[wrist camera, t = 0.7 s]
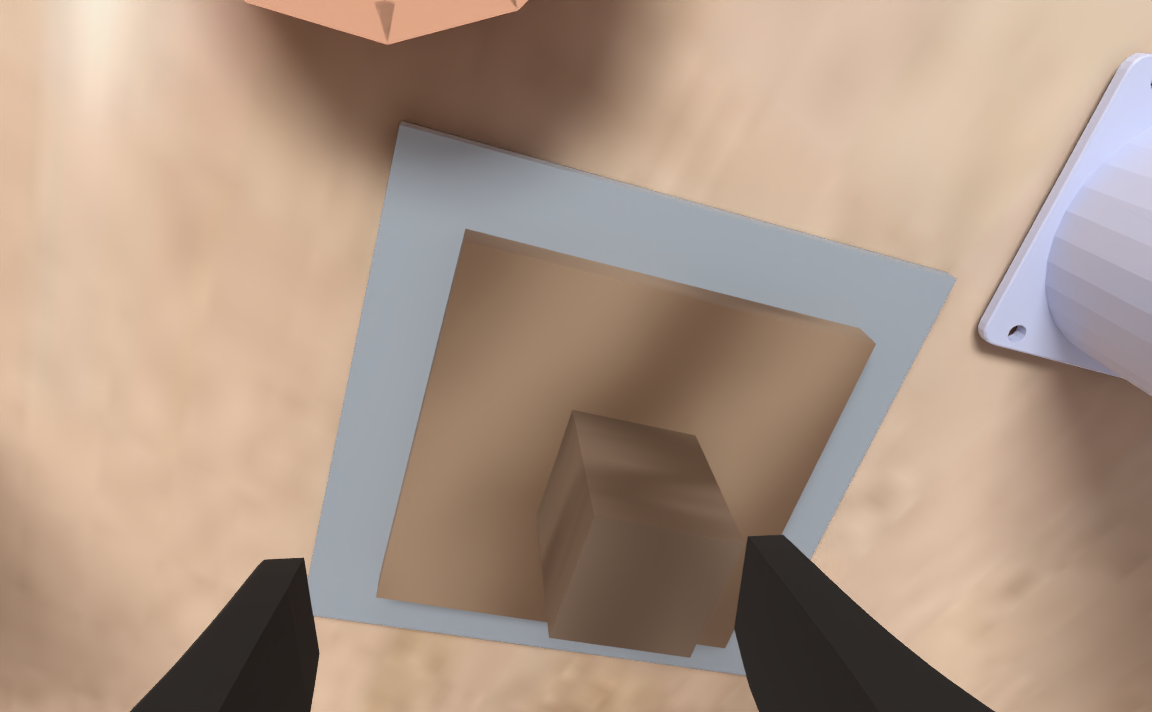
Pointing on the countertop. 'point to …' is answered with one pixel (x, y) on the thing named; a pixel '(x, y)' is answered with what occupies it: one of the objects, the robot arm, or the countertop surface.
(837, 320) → the rubber mat
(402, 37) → the terracotta bowl
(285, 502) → the countertop surface
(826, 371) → the cover board
